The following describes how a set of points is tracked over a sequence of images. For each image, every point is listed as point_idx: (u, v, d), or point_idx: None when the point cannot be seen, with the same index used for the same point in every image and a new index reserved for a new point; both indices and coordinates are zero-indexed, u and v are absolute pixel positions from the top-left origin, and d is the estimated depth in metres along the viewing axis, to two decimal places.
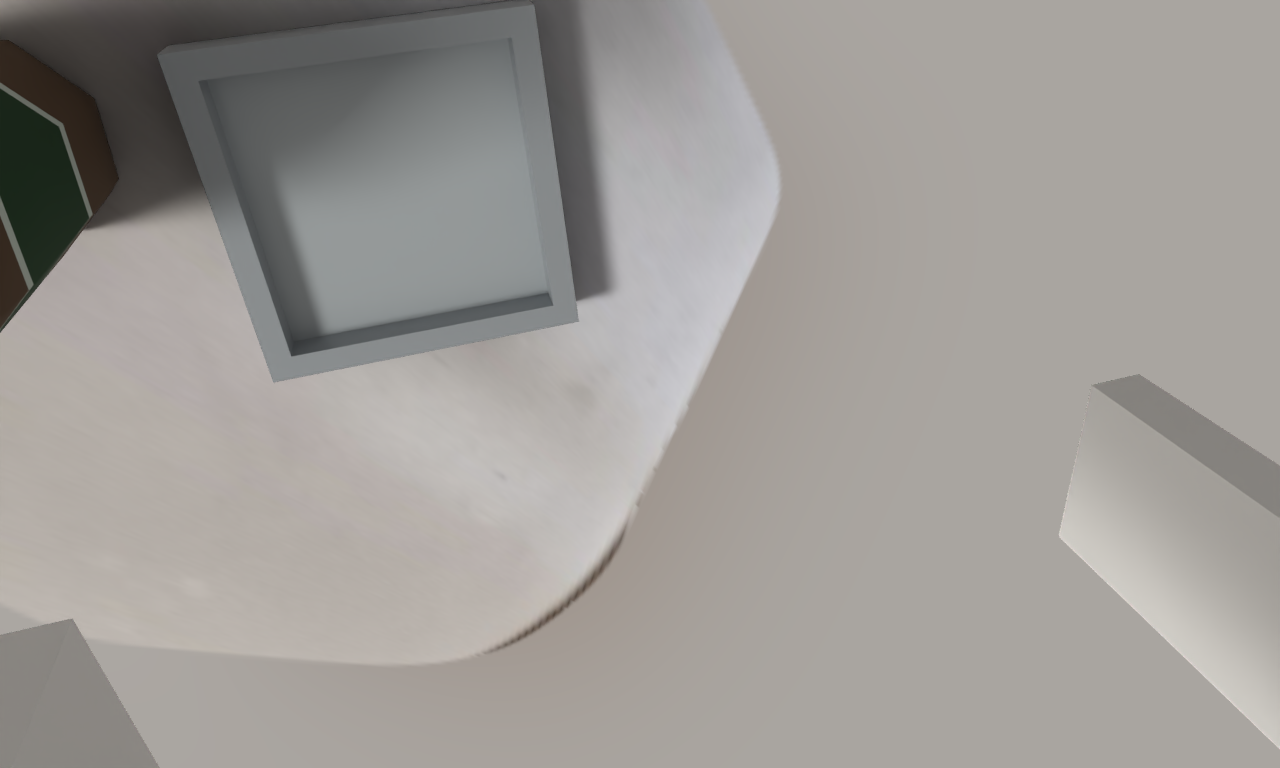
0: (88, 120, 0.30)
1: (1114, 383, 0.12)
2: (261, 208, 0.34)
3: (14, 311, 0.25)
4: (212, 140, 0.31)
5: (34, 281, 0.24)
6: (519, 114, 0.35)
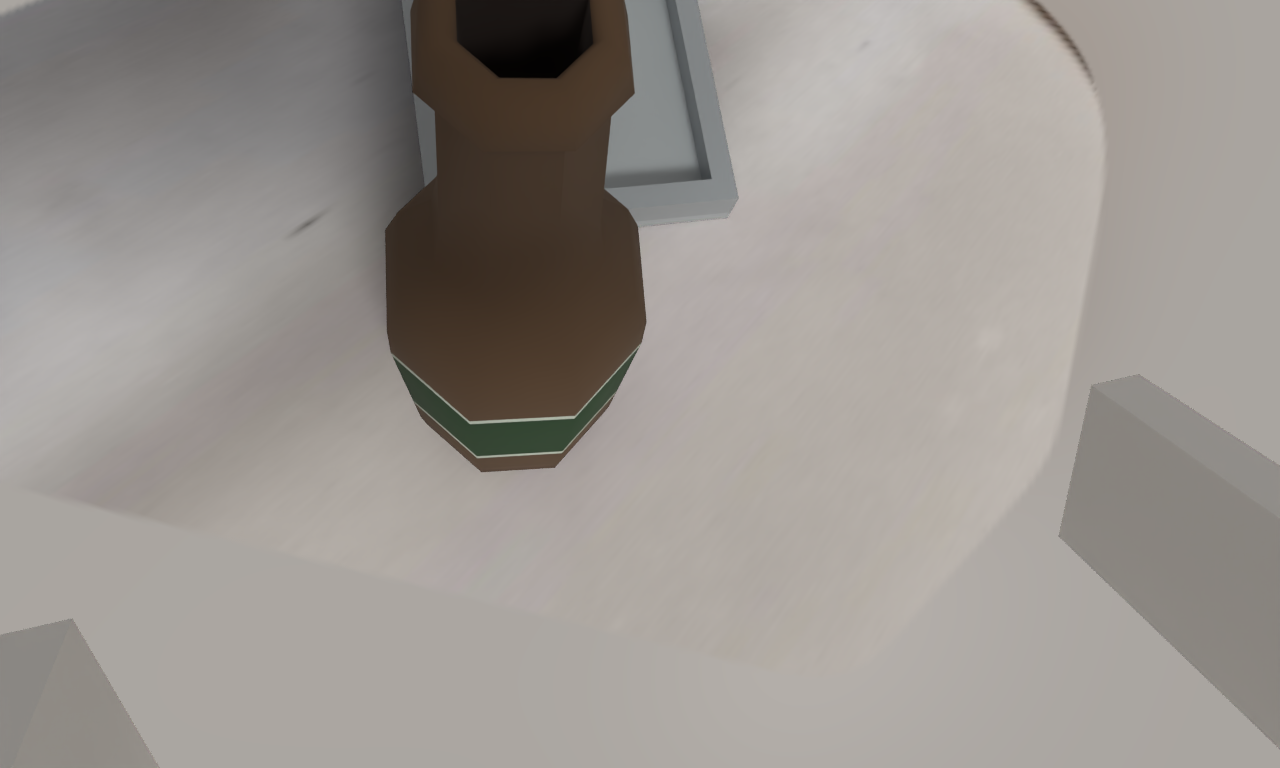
0: None
1: (1114, 383, 0.12)
2: None
3: None
4: None
5: None
6: None
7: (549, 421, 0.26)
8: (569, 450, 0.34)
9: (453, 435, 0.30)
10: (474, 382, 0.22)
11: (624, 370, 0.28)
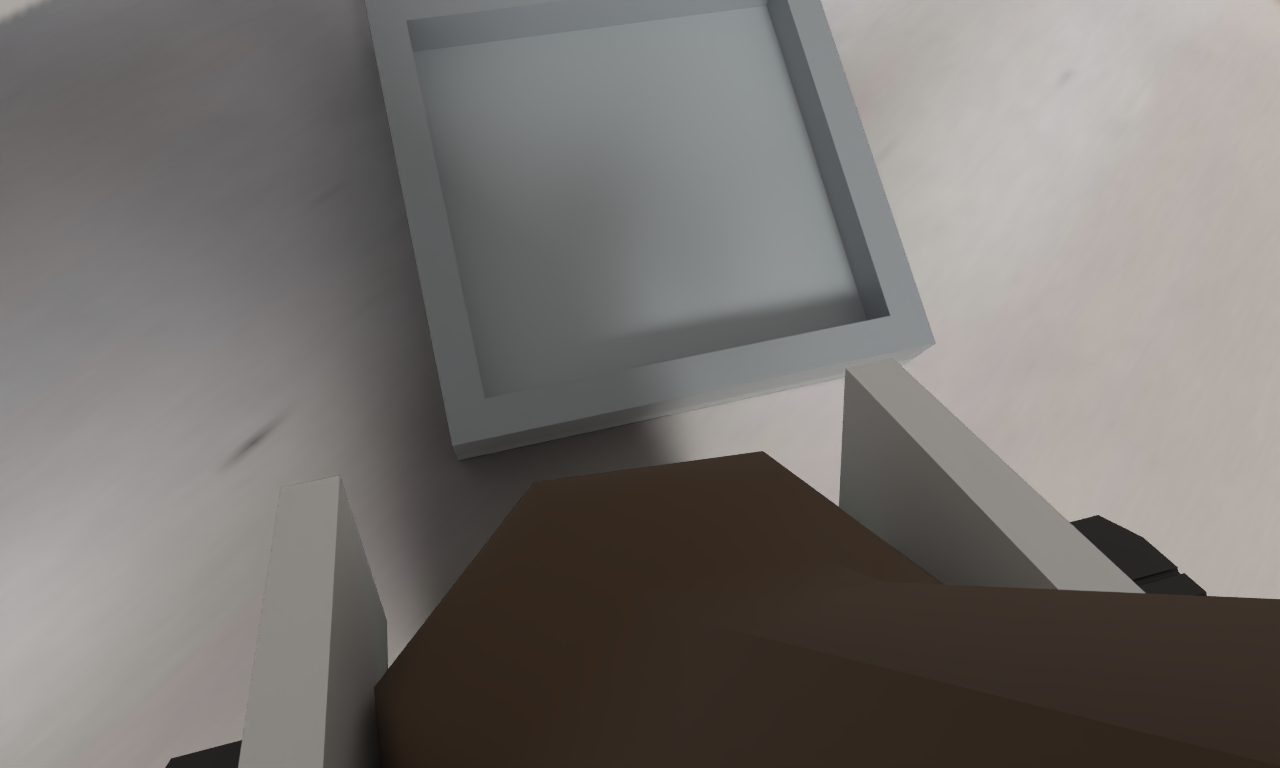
0: None
1: (866, 366, 0.13)
2: (671, 357, 0.24)
3: None
4: (567, 389, 0.22)
5: None
6: (517, 37, 0.26)
7: None
8: None
9: None
10: None
11: None
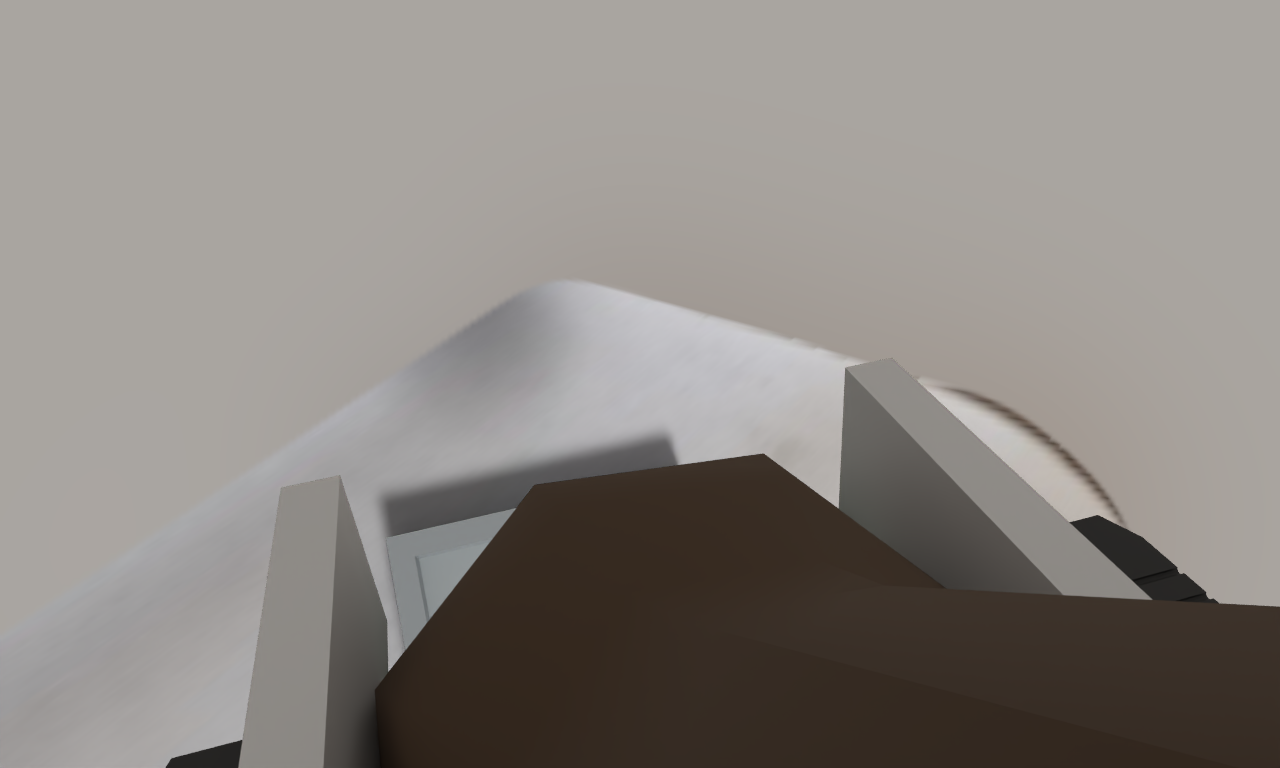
0: None
1: (866, 366, 0.13)
2: None
3: None
4: None
5: None
6: None
7: None
8: None
9: None
10: None
11: None
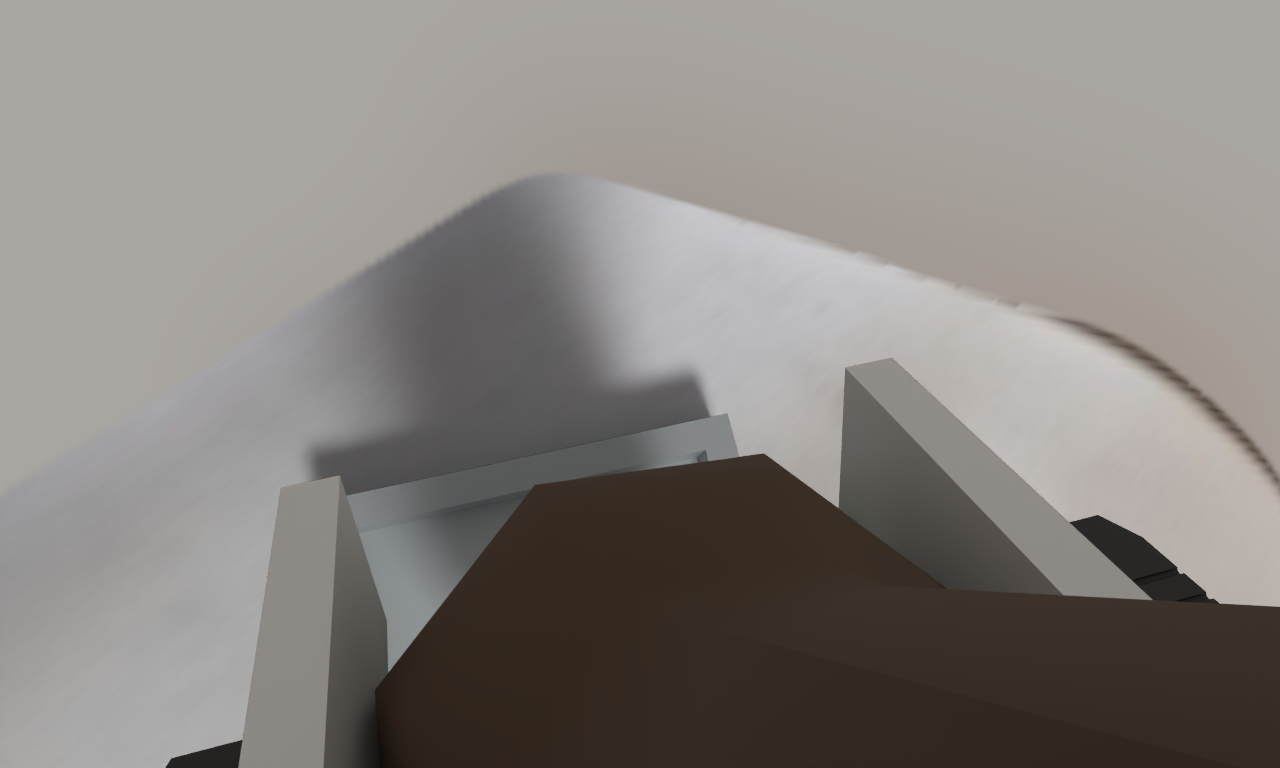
0: None
1: (866, 366, 0.13)
2: None
3: None
4: None
5: None
6: (459, 511, 0.28)
7: None
8: None
9: None
10: None
11: None
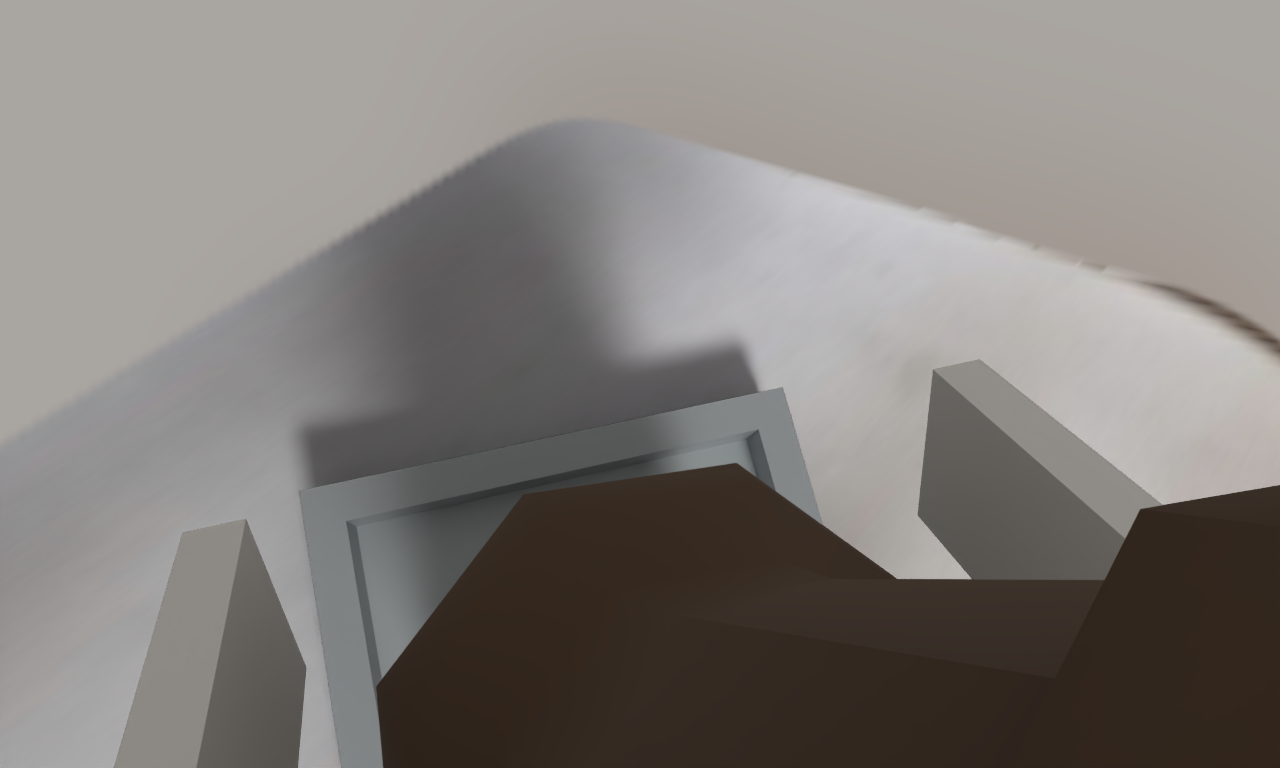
0: None
1: (954, 368, 0.13)
2: None
3: None
4: None
5: None
6: (472, 501, 0.24)
7: None
8: None
9: None
10: None
11: None
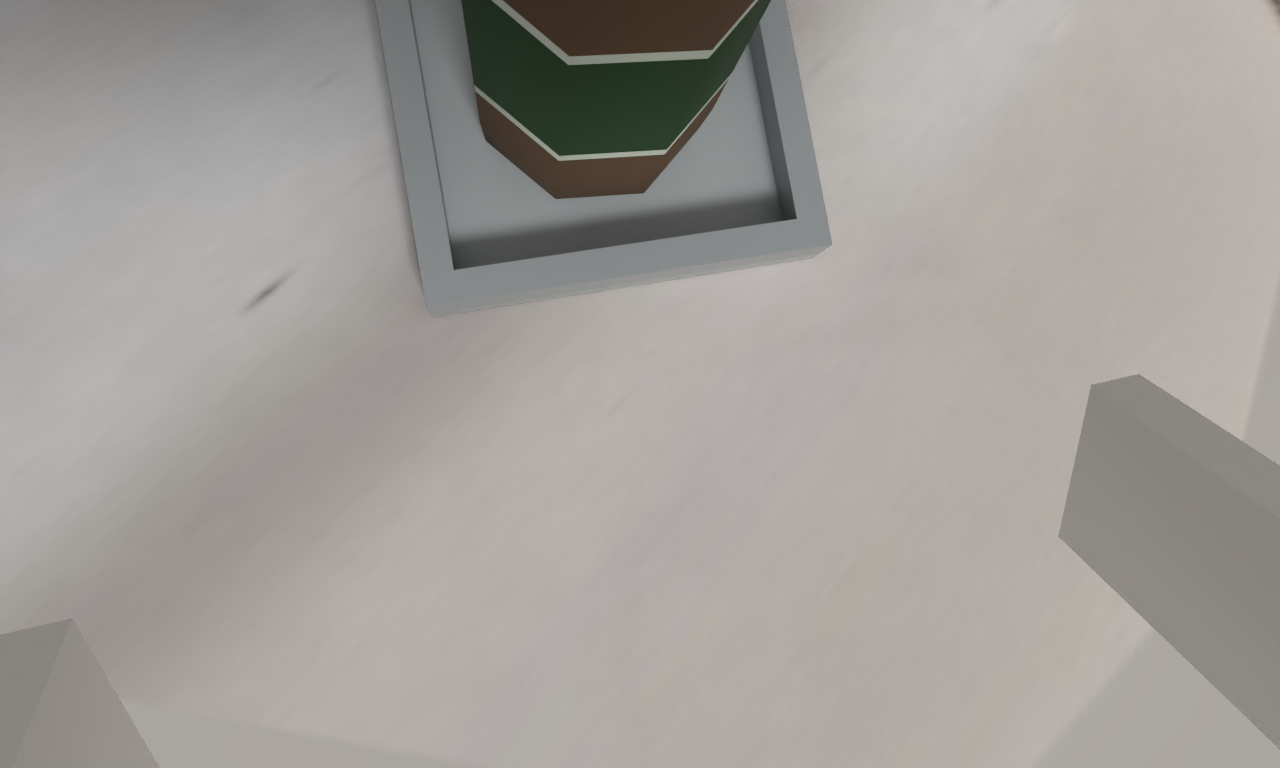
0: None
1: (1114, 383, 0.12)
2: (612, 242, 0.29)
3: None
4: (521, 266, 0.27)
5: None
6: None
7: (673, 64, 0.19)
8: (666, 164, 0.27)
9: (528, 129, 0.24)
10: None
11: (760, 14, 0.21)
